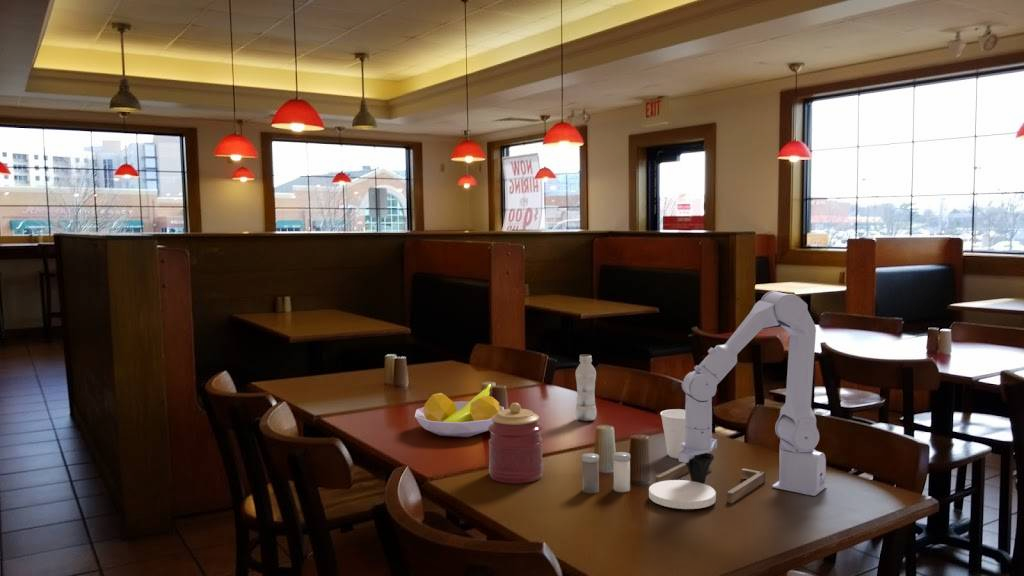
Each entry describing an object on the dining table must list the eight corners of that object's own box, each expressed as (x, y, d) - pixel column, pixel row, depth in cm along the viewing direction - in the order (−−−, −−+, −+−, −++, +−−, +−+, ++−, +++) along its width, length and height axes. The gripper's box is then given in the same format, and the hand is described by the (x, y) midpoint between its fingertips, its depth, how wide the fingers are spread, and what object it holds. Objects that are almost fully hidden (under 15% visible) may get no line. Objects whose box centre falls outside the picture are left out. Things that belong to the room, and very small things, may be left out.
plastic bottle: (596, 417, 241) (596, 353, 240) (596, 423, 235) (596, 357, 233) (575, 417, 242) (575, 353, 241) (575, 423, 235) (574, 357, 234)
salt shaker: (633, 488, 176) (633, 454, 175) (624, 493, 173) (624, 458, 172) (619, 485, 178) (619, 451, 178) (610, 489, 175) (609, 454, 175)
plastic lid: (710, 517, 158) (710, 505, 158) (642, 508, 164) (642, 497, 164) (720, 495, 171) (720, 484, 171) (656, 487, 177) (656, 477, 176)
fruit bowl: (450, 449, 210) (450, 407, 209) (397, 430, 230) (396, 392, 230) (530, 431, 227) (529, 392, 226) (474, 414, 248) (473, 379, 247)
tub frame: (765, 482, 179) (765, 472, 179) (732, 503, 166) (732, 493, 166) (691, 467, 191) (691, 458, 191) (655, 486, 178) (655, 476, 177)
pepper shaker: (602, 490, 175) (602, 455, 175) (593, 494, 172) (592, 459, 172) (588, 486, 178) (588, 452, 177) (578, 491, 175) (578, 456, 174)
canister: (481, 471, 190) (480, 399, 189) (531, 465, 195) (530, 395, 193) (499, 487, 178) (498, 411, 177) (552, 480, 182) (551, 406, 181)
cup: (671, 463, 194) (671, 419, 194) (653, 452, 204) (653, 410, 203) (706, 459, 197) (707, 416, 196) (687, 448, 207) (688, 407, 206)
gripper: (697, 417, 181) (696, 474, 182) (666, 430, 170) (665, 491, 171) (725, 421, 176) (725, 480, 177) (695, 435, 165) (695, 498, 166)
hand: (698, 486), depth 174 cm, fingers closed
